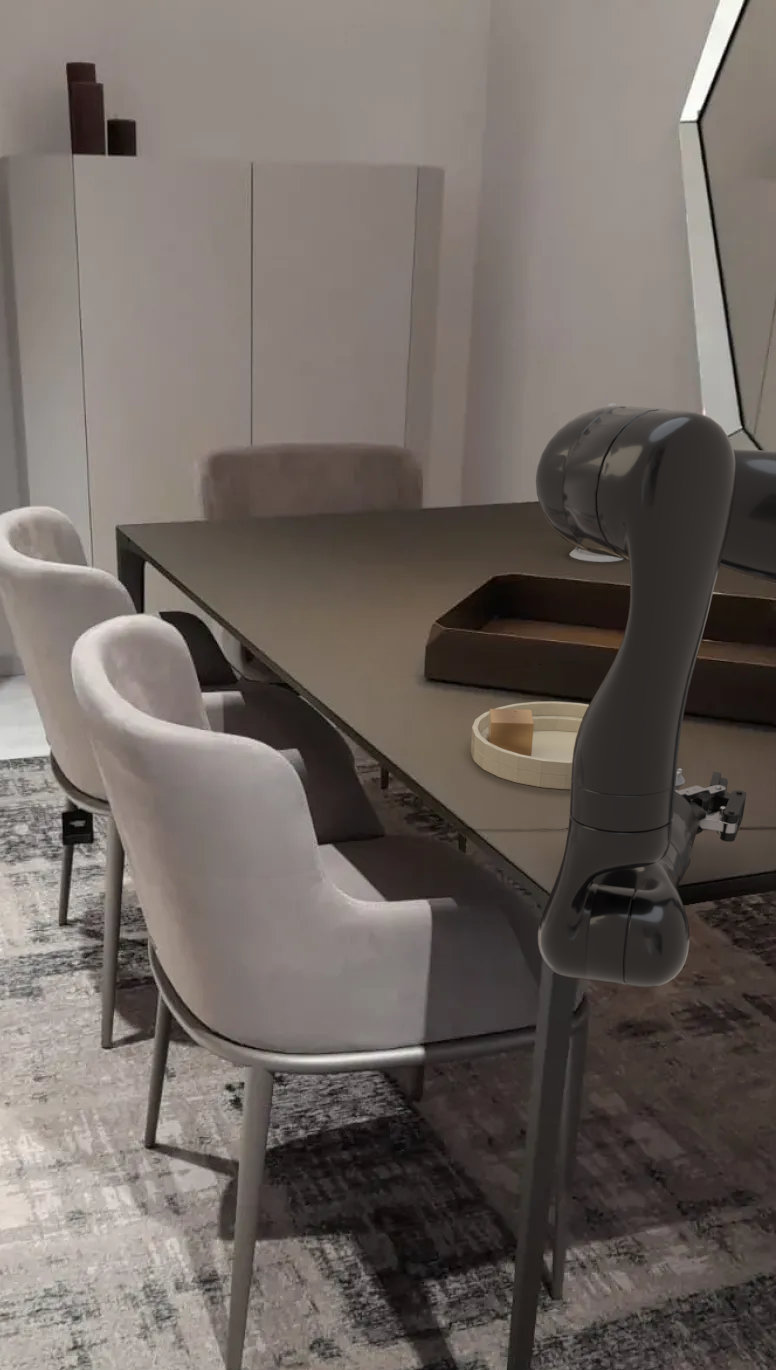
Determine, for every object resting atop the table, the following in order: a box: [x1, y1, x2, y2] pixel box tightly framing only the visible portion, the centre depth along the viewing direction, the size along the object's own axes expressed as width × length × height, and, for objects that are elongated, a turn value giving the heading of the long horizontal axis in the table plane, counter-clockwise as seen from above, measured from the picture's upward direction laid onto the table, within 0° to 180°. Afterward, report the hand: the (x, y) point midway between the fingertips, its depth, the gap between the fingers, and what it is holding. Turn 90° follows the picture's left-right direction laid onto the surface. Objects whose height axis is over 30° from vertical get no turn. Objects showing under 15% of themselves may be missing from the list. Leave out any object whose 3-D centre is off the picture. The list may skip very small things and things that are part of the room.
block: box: [488, 708, 534, 756], centre depth 149 cm, size 4×4×4 cm
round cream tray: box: [470, 701, 589, 790], centre depth 149 cm, size 19×19×4 cm
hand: (667, 776), depth 126 cm, fingers open, 8 cm apart
